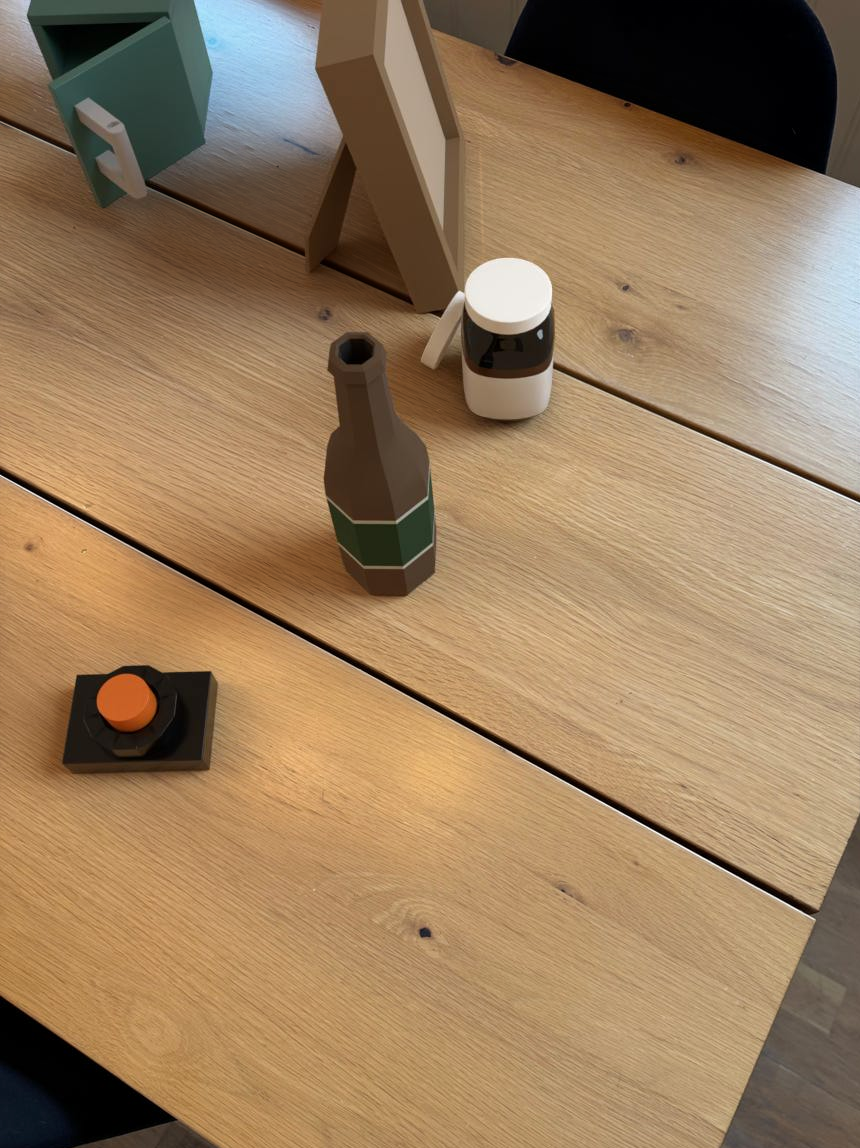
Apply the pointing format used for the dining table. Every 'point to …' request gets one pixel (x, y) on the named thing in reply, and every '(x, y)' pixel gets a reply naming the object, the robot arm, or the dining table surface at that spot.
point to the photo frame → (393, 143)
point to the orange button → (127, 702)
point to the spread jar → (501, 339)
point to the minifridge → (118, 35)
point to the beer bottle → (377, 476)
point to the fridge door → (129, 112)
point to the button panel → (160, 745)
